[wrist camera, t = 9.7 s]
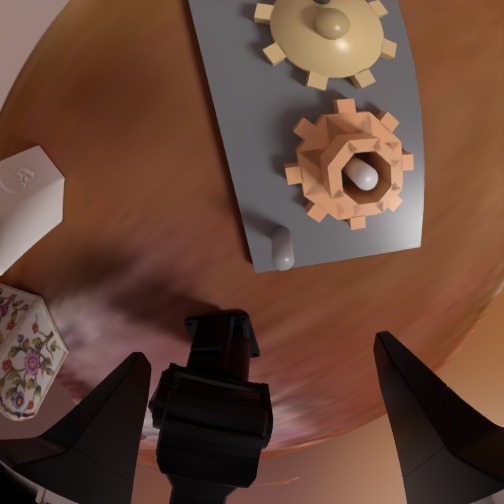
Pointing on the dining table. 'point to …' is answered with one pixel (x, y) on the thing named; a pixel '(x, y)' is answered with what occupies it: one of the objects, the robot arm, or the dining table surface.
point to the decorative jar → (26, 352)
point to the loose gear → (338, 154)
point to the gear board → (309, 116)
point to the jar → (27, 202)
